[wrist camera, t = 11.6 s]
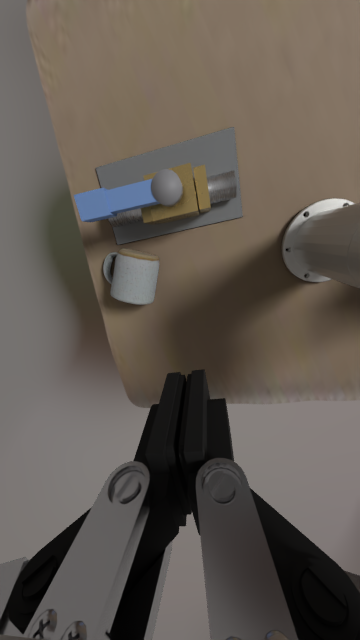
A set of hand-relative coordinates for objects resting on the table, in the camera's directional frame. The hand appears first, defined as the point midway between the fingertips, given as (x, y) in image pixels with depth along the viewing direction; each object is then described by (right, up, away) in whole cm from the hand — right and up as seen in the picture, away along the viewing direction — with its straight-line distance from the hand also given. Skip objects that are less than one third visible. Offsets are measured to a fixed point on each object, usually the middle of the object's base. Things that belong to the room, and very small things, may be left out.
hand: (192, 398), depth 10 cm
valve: (-2, +23, +26) cm, 34 cm away
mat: (-2, +24, +26) cm, 35 cm away
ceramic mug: (-9, +13, +31) cm, 35 cm away
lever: (-7, +19, +18) cm, 28 cm away
